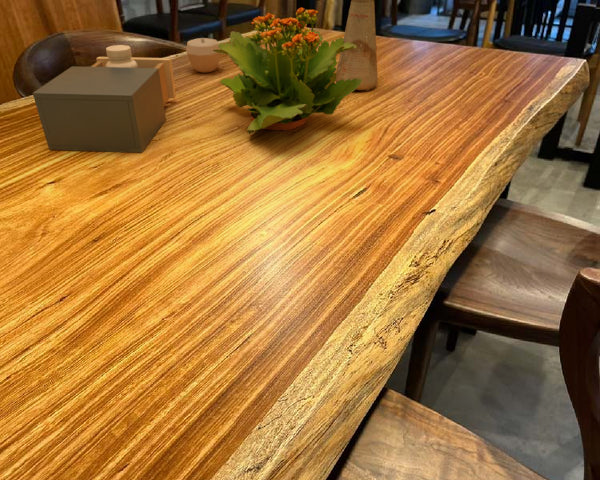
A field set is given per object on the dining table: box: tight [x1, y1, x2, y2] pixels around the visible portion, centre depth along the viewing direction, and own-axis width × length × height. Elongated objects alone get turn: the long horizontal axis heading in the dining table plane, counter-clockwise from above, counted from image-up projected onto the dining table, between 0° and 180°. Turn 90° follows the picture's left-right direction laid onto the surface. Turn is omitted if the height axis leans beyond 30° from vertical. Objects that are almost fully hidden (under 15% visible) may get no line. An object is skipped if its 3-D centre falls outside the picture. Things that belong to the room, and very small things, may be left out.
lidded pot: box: [185, 37, 222, 74], centre depth 117 cm, size 8×8×7 cm
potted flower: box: [213, 7, 362, 135], centre depth 89 cm, size 25×24×18 cm
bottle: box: [335, 0, 379, 91], centre depth 102 cm, size 9×9×28 cm
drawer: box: [90, 56, 177, 105], centre depth 96 cm, size 18×13×7 cm
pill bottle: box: [105, 44, 138, 68], centre depth 93 cm, size 5×5×9 cm
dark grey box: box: [32, 65, 167, 154], centre depth 85 cm, size 15×15×9 cm
